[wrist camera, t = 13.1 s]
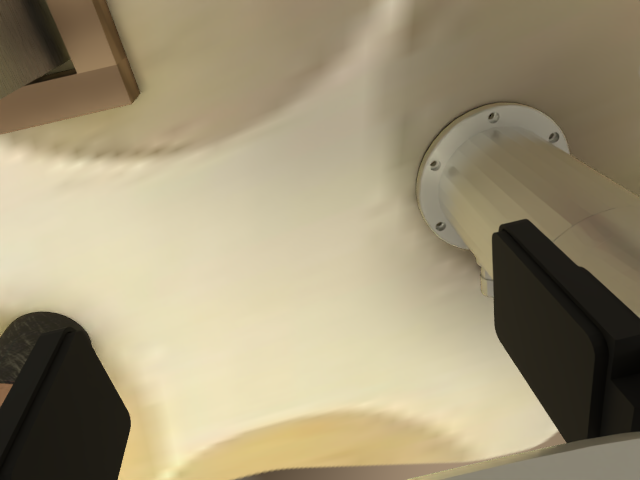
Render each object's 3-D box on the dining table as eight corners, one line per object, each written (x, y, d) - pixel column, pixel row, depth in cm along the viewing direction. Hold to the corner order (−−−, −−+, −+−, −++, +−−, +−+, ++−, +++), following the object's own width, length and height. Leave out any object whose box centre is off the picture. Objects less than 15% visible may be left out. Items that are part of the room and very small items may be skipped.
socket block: (140, 93, 36) (131, 104, 33) (-8, 127, 36) (-28, 140, 33) (48, -153, 29) (28, -164, 26) (-136, -112, 29) (-174, -119, 26)
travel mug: (-20, 337, 44) (-197, 588, 26) (49, 293, 42) (-89, 527, 25) (48, 389, 47) (-68, 641, 30) (114, 350, 46) (32, 589, 29)
